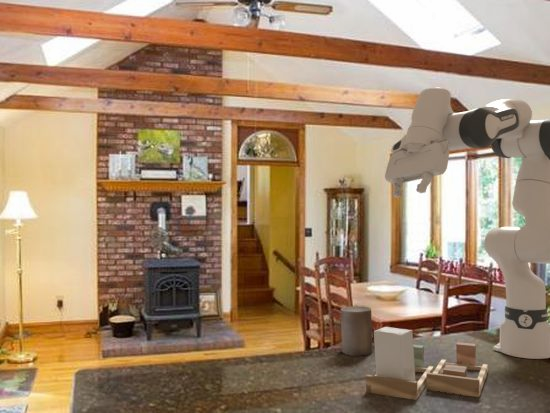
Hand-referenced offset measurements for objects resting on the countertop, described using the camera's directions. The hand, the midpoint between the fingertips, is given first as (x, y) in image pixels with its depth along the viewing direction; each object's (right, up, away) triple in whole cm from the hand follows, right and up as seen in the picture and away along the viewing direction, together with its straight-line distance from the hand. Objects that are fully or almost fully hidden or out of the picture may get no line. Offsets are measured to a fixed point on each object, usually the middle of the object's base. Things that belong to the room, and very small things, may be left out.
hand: (408, 194), depth 133 cm
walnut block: (+12, -49, +1) cm, 50 cm away
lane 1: (+1, -49, +7) cm, 49 cm away
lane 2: (+16, -48, +9) cm, 52 cm away
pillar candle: (-7, -49, +36) cm, 61 cm away
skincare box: (-3, -49, +1) cm, 49 cm away
